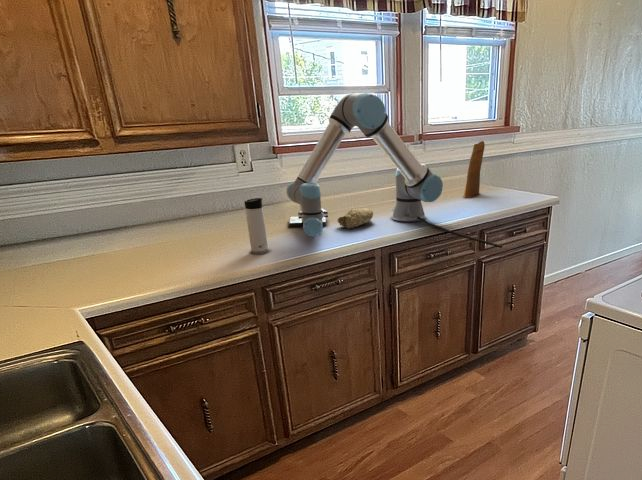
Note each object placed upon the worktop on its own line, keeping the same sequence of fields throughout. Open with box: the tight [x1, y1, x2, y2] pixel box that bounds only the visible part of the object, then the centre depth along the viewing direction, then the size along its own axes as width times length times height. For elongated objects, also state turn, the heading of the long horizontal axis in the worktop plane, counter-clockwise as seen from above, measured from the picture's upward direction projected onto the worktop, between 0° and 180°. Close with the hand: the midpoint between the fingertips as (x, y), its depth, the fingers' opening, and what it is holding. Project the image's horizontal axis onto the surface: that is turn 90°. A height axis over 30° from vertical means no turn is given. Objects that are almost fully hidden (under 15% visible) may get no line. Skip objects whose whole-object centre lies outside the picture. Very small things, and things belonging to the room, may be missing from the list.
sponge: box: [336, 207, 374, 230], centre depth 233 cm, size 13×8×20 cm
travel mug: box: [244, 197, 269, 255], centre depth 193 cm, size 6×7×20 cm
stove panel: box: [289, 216, 327, 229], centre depth 236 cm, size 16×14×2 cm
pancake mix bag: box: [463, 140, 486, 199], centre depth 284 cm, size 7×19×28 cm, turn 148°
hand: (313, 206), depth 235 cm, fingers closed
